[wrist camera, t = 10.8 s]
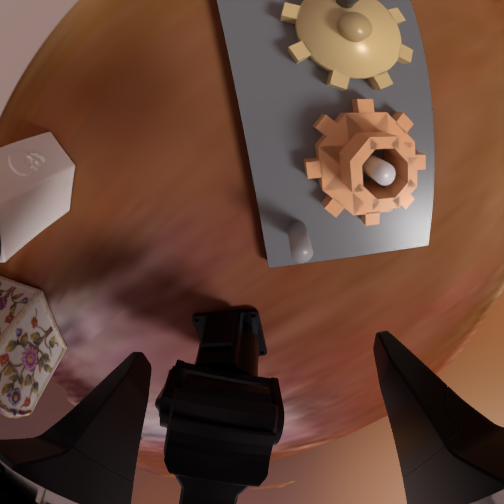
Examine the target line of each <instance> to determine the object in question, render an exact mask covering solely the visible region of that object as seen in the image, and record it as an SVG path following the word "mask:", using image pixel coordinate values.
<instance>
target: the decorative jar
mask: <svg viewBox="0 0 504 504" xmlns="http://www.w3.org/2000/svg"><path fill="white" fill-rule="evenodd" d="M66 350H67V346H66V344H65V342H64V340H63V338H62V336H61V333H60V331H59V329H58V327H57V324H56V322H55V320H54V317H53V315H52V312H51V310H50V307H49V305H48V302H47V300H46V298H45V294H44V292H43V291H42V290H40V289H37V288H34V287H31V286H28V285H25V284H22V283H19V282H17V281H14V280H11V279H8V278H5V277H3V276H1V275H0V413H1V414H2V415H4V416H6V417H10V418H19V417H21V416H26V415H30V414H32V412H33V410H34V408H35V406H36V404H37V402H38V400H39V398H40V396H41V394H42V392H43V390H44V389H45V387H46V385H47V384H48V382H49V380H50V378H51V377H52V375H53V373H54V371H55V369H56V367H57V366H58V364H59V362H60V360H61V358H62V357H63V355H64V353H65V351H66Z"/></svg>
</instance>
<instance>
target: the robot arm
mask: <svg viewBox="0 0 504 504" xmlns="http://www.w3.org/2000/svg"><path fill="white" fill-rule="evenodd" d="M252 314H254V315H252ZM196 318H197V319H196ZM192 322H193V324H194V326H195V329H196V331H197V333H198V335H199V338H200V340H201V341H200V345H199V349H198V353H197V357H196V361H195V365H194V364H190V363H186V362H184V361H181V360H177V362H176V365H175V366H173V368H172V369H170V370H169V374H168V377H167V380H166V383H165V385H164V387H163V389H162V390H161V392H160V394H159V395H158V397H157V399H156V402H155V406H156V408H157V409H158V411H159V417H160V426H162V427H166V428H167V433H166V439H165V446H164V455H165V458H164V461H165V464H166V467H167V469H168V471H169V473H170V474H174V475H175V476H176V478H177V480H178V481H179V483H180V485H181V487H182V488H181V495H180V501H179V504H236V502H237V498H238V495H239V494H240V493H242V492H243V491H244V490H245V489H246V488H247V487H249V486H256V487H258V486H260V485H261V483H262V482H263V481H264V480H265V478H266V477H267V475H268V467H269V461H270V455H271V451H272V447H273V445H276V444H277V443H278V442H279V440H280V438H281V435H282V431H283V426H284V407H283V402H282V397H281V392H280V387H279V382H278V378H265V377H258V356H263V355H266V354H267V348H266V344H265V339H264V335H263V330H262V326H261V322H260V317H259V313H258V311H257V310H256V309H245V310H235V311H223V312H211V313H198V314H194V315H193V316H192ZM373 350H374V356H375V362H376V367H377V372H378V378H379V384H380V388H381V392H382V396H383V399H384V403H385V406H386V410H387V413H388V417H389V421H390V424H391V428H392V432H393V436H394V440H395V444H396V449H397V453H398V457H399V462H400V467H401V472H402V476H403V482H404V488H405V493H406V499H407V504H504V427H500V426H498V425H496V424H494V423H493V422H491V421H490V420H489V419H487V418H486V417H485V416H483V415H482V414H481V413H479V412H478V411H477V410H475V409H474V408H473V407H471V406H470V405H469V404H468V403H466V402H465V401H464V400H462V399H461V398H460V397H459V396H458V395H457V394H456V393H455V392H454V391H453V390H452V389H451V388H450V387H447V385H446V384H445V383H444V382H443V381H442V380H441V379H440V378H439V377H438V376H437V375H436V374H435V373H433V372H432V371H431V370H430V369H429V368H428V367H427V366H426V365H425V364H424V363H423V362H422V361H420V360H419V359H418V358H417V357H416V356H415V355H414V354H413V353H412V352H411V351H409V350H408V349H407V348H406V347H405V346H404V345H403V344H402V343H401V342H400V341H398V340H397V339H396V338H395V337H394V336H393V335H392V334H391V333H389V332H388V331H381V332H377V334H376V337H375V342H374V347H373ZM150 378H151V364H150V363H149V361H148V360H147V358H146V357H145V355H144V354H143V353H142V352H133V353H131V354H130V355H129V356H128V357H127V358H126V359H125V360H124V361H123V362H122V363H121V364H120V365H119V366H118V367H117V368H115V369H114V370H113V371H112V372H111V373H110V374H109V375H108V376H107V377H106V378H105V379H104V380H103V381H102V382H101V383H100V384H99V385H97V386H96V387H95V388H94V389H93V390H92V391H91V392H90V393H89V394H88V395H87V396H86V397H85V398H84V399H83V400H82V401H81V402H80V403H79V404H77V405H76V406H75V407H74V408H73V409H72V410H71V411H70V412H69V413H68V414H67V415H66V416H65V417H63V418H62V419H61V420H60V421H58V422H57V423H56V424H55V425H53V426H52V427H51V428H50V429H48V430H47V431H46V432H44V433H43V434H42V435H40V436H38V437H34V438H26V439H9V440H0V460H1V461H2V462H3V463H5V465H4V464H3V463H1V462H0V504H131V497H132V490H133V481H134V474H135V468H136V462H137V456H138V450H139V444H140V439H141V433H142V428H143V423H144V418H145V413H146V408H147V403H148V396H149V387H150Z"/></svg>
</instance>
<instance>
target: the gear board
mask: <svg viewBox="0 0 504 504" xmlns="http://www.w3.org/2000/svg"><path fill="white" fill-rule="evenodd" d="M217 4H218V8H219V13H220V17H221V22H222V27H223V31H224V36H225V41H226V45H227V50H228V55H229V60H230V65H231V69H232V74H233V79H234V84H235V89H236V94H237V99H238V104H239V109H240V114H241V119H242V124H243V129H244V134H245V140H246V145H247V150H248V155H249V160H250V166H251V171H252V176H253V182H254V187H255V192H256V198H257V203H258V209H259V214H260V220H261V225H262V231H263V236H264V242H265V247H266V253H267V259H268V264H269V268H272V267H279V266H287V265H295V264H302V263H310V262H317V261H325V260H332V259H339V258H346V257H353V256H360V255H367V254H374V253H381V252H388V251H394V250H401V249H408V248H414V247H420V246H427V245H428V243H429V236H430V227H431V218H432V207H433V192H434V126H433V112H432V101H431V92H430V85H429V78H428V71H427V65H426V60H425V55H424V50H423V45H422V41H421V36H420V32H419V28H418V25H417V21H416V17H415V14H414V11H413V7H412V4H411V1H410V0H217ZM352 99H373V103H374V111H375V112H387V113H388V114H389V115H390V116H391V117H392V116H393V115H394V113H395V112H402V113H404V114H405V115H406V116H407V117H408V118H409V119H410V120H411V121H412V122H413V124H414V125H413V126H412V127H411V128H410V130H409V131H408V132H407V134H408V135H409V136H410V137H411V138H412V139H413V140H414V142H415V151H418V152H420V153H423V154H425V155H426V170H417V187H416V189H415V190H414V191H413V192H412V193H411V195H412V196H413V197H414V198H415V199H414V201H413V202H412V203H411V204H410V205H409V207H408V208H407V209H406V210H405V209H404V208H403V207H402V206H400V208H393V209H392V211H390V212H381V213H380V221H379V224H377V225H369V226H365V224H364V223H363V222H362V220H361V215H355V216H353V215H352V214H351V213H350V212H349V211H347V210H346V209H345V208H344V209H343V210H342V212H341V213H340V214H339V215H338V216H337V217H335V216H333V215H332V214H331V213H329V212H328V211H327V210H326V209H324V207H323V205H322V203H321V202H322V201H323V200H324V199H325V197H326V196H327V195H328V194H327V193H325V192H324V191H323V190H322V188H321V187H320V185H319V178H312V179H308V178H307V177H306V175H305V168H304V160H303V159H308V158H316V150H315V144H316V143H317V141H318V140H319V139H320V138H321V136H322V135H323V134H321V133H320V132H319V131H318V130H316V129H315V128H314V127H313V125H314V124H315V122H316V121H317V120H318V119H319V117H320V116H321V115H322V114H326V115H327V116H329V117H330V118H331V119H332V120H333V121H334V120H335V119H336V118H337V117H338V115H339V114H340V113H346V112H353V106H352ZM362 172H363V182H365V181H376V182H378V183H379V184H380V185H383V186H386V185H389V184H391V183H392V182H393V181H394V179H395V175H396V172H395V169H394V167H393V166H392V165H391V164H389V163H388V162H386V161H384V151H383V150H382V149H375V150H374V151H373V153H372V154H371V155H370V156H369V158H368V159H367V160H366V161H365V162H364V164H363V165H362Z"/></svg>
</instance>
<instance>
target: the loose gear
mask: <svg viewBox="0 0 504 504" xmlns="http://www.w3.org/2000/svg"><path fill="white" fill-rule="evenodd" d="M352 106H353V112H346V113H340V114H339V115H338V117H337V118H336V119H335V120H334V121H333V120H332V119H331V118H330V117H329V116H327V115H326V114H322V115H321V116H320V117H319V119H318V120H317V121H316V122H315V124H314V125H313V127H314V128H315V129H316V130H318V131H319V132H320V133H321V134H323V135H322V136H321V138H320V139H319V140H318V141H317V143H316V144H315V150H316V158H308V159H303V160H304V168H305V175H306V177H307V178H308V179H312V178H319V185H320V187H321V188H322V190H323V191H324V192H325V193H327V194H328V195H327V196H326V197H325V199H324V200H323V201H322V202H321V203H322V205H323V207H324V209H326V210H327V211H328V212H329V213H331V214H332V215H333V216H335V217H337V216H338V215H339V214H340V213H341V212H342V210H343V209H344V208H345V209H346V210H347V211H349V212H350V213H351V214H352V215H353V216H355V215H361V220H362V222H363V223H364V224H365V226H369V225H377V224H379V221H380V213H381V212H390V211H392V209H393V208H400V206H402V207H403V208H404V209H405V210H406V209H407V208H408V207H409V205H410V204H411V203H412V202H413V201H414V199H415V198H414V197H413V196H412V195H411V193H412V192H413V191H414V190H415V189H416V187H417V170H426V155H425V154H423V153H420V152H418V151H415V142H414V140H413V139H412V138H411V137H410V136H409V135H408V134H407V132H408V131H409V130H410V128H411V127H412V126H413V125H414V124H413V122H412V121H411V120H410V119H409V118H408V117H407V116H406V115H405V114H404V113H402V112H395V113H394V115H393V116H392V117H391V116H390V115H389V114H388V113H387V112H375V111H374V103H373V99H352ZM375 149H382V150H383V151H384V161H386V162H388V163H389V164H391V165H392V166H393V167H394V169H395V172H396V175H395V179H394V181H393V182H392V183H391V184H389V185H386V186H383V185H380V184H379V183H378V182H376V181H365V182H363V172H362V165H363V164H364V162H365V161H366V160H367V159H368V158H369V156H370V155H371V154H372V153H373V151H374V150H375Z"/></svg>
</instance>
